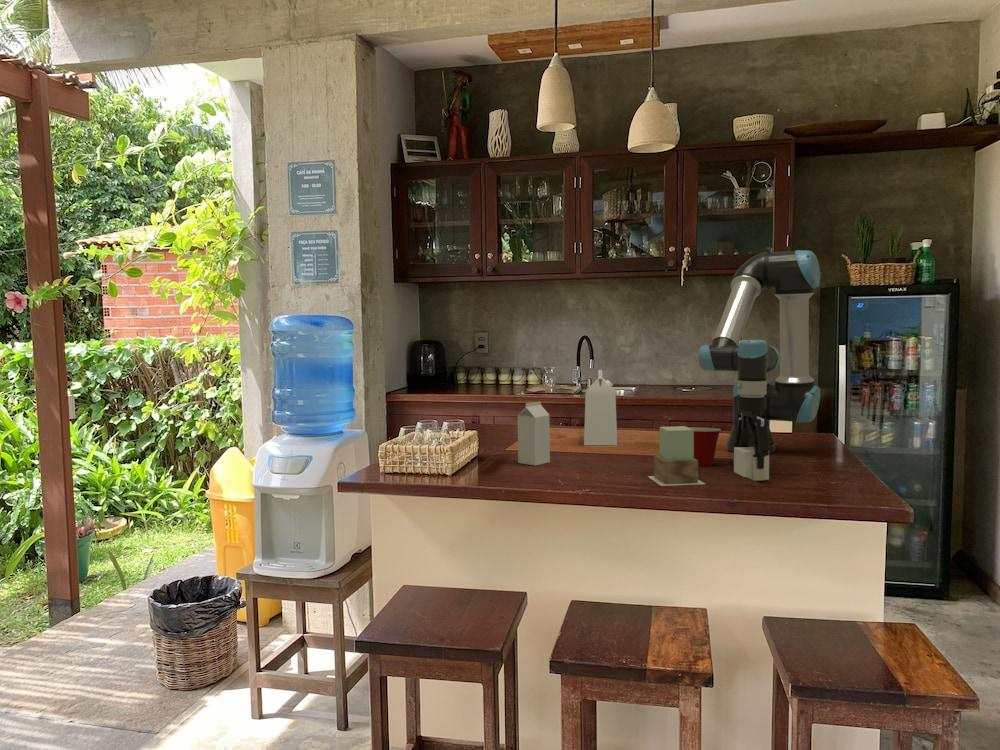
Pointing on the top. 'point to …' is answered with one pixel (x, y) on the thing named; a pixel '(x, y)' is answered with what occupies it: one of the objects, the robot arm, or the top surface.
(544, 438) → the milk carton
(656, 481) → the plate
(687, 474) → the walnut base brick
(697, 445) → the plastic cup
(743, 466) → the cream brick
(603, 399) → the milk
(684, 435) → the sage brick
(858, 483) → the top surface
